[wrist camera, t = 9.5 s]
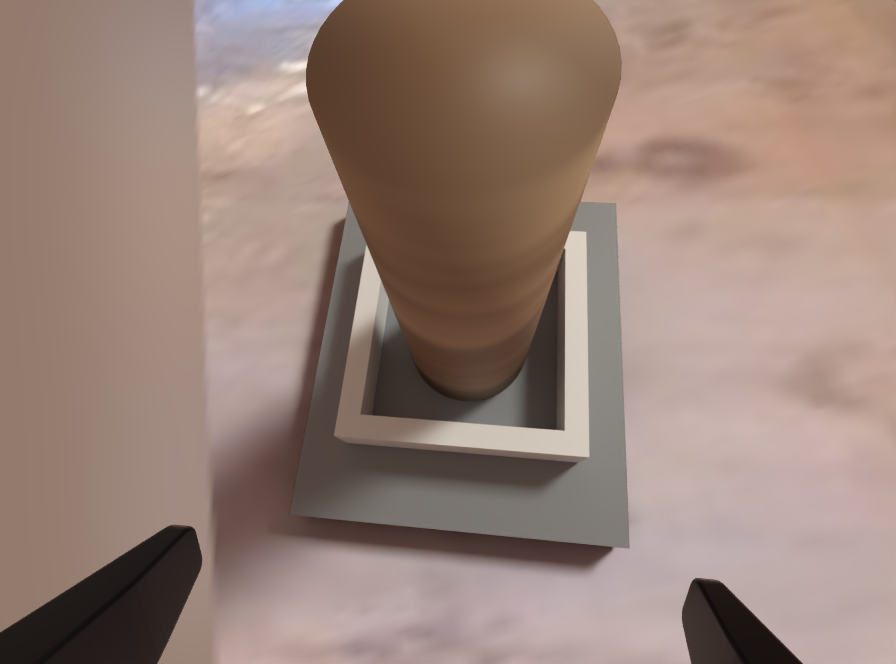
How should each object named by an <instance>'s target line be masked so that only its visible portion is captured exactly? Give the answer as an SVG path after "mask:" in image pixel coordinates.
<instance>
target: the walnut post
mask: <svg viewBox="0 0 896 664" xmlns="http://www.w3.org/2000/svg"><path fill="white" fill-rule="evenodd" d="M621 66H622V61H621V54H620V47H619V44H618V41H617V37H616V34H615V32H614V30H613V28H612V26H611V24H610V22H609V20H608V18H607V17H606V15H605V14H604V13H603V11H602V10H601V9H600V7H599V6H598V5H597V4H596V3H595V2H594V1H593V0H343V1H342V2H341V3H340V4H339V5H338V6H337V7H336V8H335V10H334V11H333V12H332V13H331V14H330V15H329V17H328V18H327V19H326V21H325V22H324V23H323V25H322V26H321V28H320V30H319V32H318V34H317V36H316V37H315V39H314V42H313V44H312V47H311V50H310V53H309V57H308V63H307V68H306V87H307V93H308V98H309V102H310V105H311V108H312V110H313V113H314V116H315V118H316V121H317V123H318V126H319V128H320V131H321V133H322V135H323V138H324V140H325V143H326V145H327V148H328V150H329V153H330V155H331V158H332V160H333V163H334V165H335V168H336V170H337V173H338V175H339V178H340V180H341V182H342V185H343V187H344V190H345V192H346V195H347V197H348V200H349V202H350V205H351V207H352V210H353V212H354V215H355V217H356V220H357V222H358V225H359V227H360V229H361V232H362V234H363V237H364V239H365V242H366V244H367V247H368V249H369V252H370V254H371V257H372V259H373V262H374V264H375V267H376V269H377V272H378V274H379V276H380V279H381V281H382V284H383V286H384V289H385V291H386V294H387V296H388V299H389V301H390V304H391V306H392V309H393V311H394V314H395V316H396V319H397V321H398V324H399V326H400V328H401V331H402V333H403V336H404V338H405V341H406V343H407V346H408V348H409V351H410V353H411V356H412V358H413V361H414V363H415V366H416V368H417V370H418V372H419V374H420V375H421V377H422V378H423V380H424V381H425V382H426V383H427V384H428V385H429V386H430V387H431V388H432V389H434V390H435V391H436V392H438V393H440V394H442V395H444V396H446V397H448V398H451V399H455V400H460V401H479V400H484V399H488V398H490V397H493V396H495V395H497V394H499V393H501V392H502V391H504V390H505V389H506V388H508V387H509V386H510V385H511V384H512V383H513V382H514V381H515V379H516V378H517V377H518V375H519V373H520V372H521V370H522V368H523V365H524V363H525V360H526V357H527V354H528V351H529V348H530V345H531V342H532V339H533V337H534V334H535V331H536V328H537V325H538V322H539V319H540V316H541V313H542V310H543V308H544V305H545V302H546V299H547V296H548V293H549V290H550V287H551V284H552V282H553V279H554V276H555V273H556V270H557V267H558V264H559V261H560V258H561V255H562V253H563V250H564V247H565V244H566V241H567V238H568V235H569V232H570V229H571V227H572V224H573V221H574V218H575V215H576V212H577V209H578V206H579V203H580V201H581V198H582V195H583V192H584V189H585V186H586V183H587V180H588V177H589V174H590V172H591V169H592V166H593V163H594V160H595V157H596V154H597V151H598V148H599V146H600V143H601V140H602V137H603V134H604V131H605V128H606V125H607V122H608V120H609V117H610V114H611V111H612V108H613V105H614V102H615V99H616V96H617V93H618V89H619V84H620V80H621Z"/></svg>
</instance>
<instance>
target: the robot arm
mask: <svg viewBox="0 0 896 664" xmlns="http://www.w3.org/2000/svg"><path fill="white" fill-rule="evenodd" d="M201 566H202V555H201V550H200V547H199V543H198V539H197V535H196V531H195V529H194V528H193V527H190V526H181V525H170V526H168V527H166V528H164V529H163V530H161V531H160V532H158V533H156V534H155V535H153V536H152V537H150V538H148V539H147V540H145V541H144V542H142V543H141V544H139V545H137V546H136V547H134V548H133V549H131V550H130V551H128V552H126V553H125V554H123V555H122V556H120V557H119V558H117V559H115V560H114V561H113V562H111V563H109V564H107V565H106V566H104V567H103V568H101V569H100V570H98V571H96V572H95V573H93V574H92V575H90V576H89V577H87V578H85V579H84V580H82V581H81V582H79V583H77V584H76V585H75V586H73V587H71V588H70V589H68V590H66V591H65V592H63V593H62V594H60V595H59V596H57V597H56V598H54V599H52V600H51V601H50V602H48V603H46V604H44V605H43V606H41V607H40V608H38V609H36V610H35V611H33V612H32V613H30V614H29V615H27V616H25V617H24V618H22V619H21V620H19V621H18V622H16V623H14V624H13V625H11V626H10V627H8V628H7V629H5V630H3V631H2V632H0V664H157V663H158V661H159V659H160V657H161V655H162V653H163V651H164V649H165V647H166V645H167V643H168V641H169V638H170V636H171V634H172V632H173V630H174V627H175V625H176V623H177V621H178V619H179V616H180V614H181V612H182V610H183V607H184V605H185V603H186V601H187V599H188V596H189V594H190V592H191V590H192V588H193V585H194V583H195V581H196V579H197V577H198V574H199V572H200V569H201ZM682 623H683V628H684V632H685V637H686V642H687V646H688V651H689V655H690V660H691V664H803V663H802V662H801V661H800V660H799V659H798V658H797V657H796V656H795V655H794V654H793V653H792V652H791V651H790V650H789V649H788V648H787V647H786V646H785V645H784V644H783V643H782V642H781V641H780V640H779V639H778V638H777V637H776V636H775V635H774V634H773V633H772V632H771V631H770V630H769V629H768V628H767V627H766V626H765V625H764V624H763V623H762V622H761V621H760V620H759V619H758V618H757V617H756V616H755V615H754V614H753V613H752V612H751V611H750V610H749V609H748V608H747V607H746V606H745V605H744V604H743V603H742V602H741V601H740V600H739V599H738V598H737V597H736V596H735V595H734V594H733V593H732V592H731V591H730V590H729V589H728V588H727V587H726V586H725V585H724V584H723V583H721V582H720V581H718V580H713V579H703V578H695V579H694V580H693V581H692V582H691V585H690V588H689V591H688V594H687V597H686V600H685V603H684V606H683V610H682Z"/></svg>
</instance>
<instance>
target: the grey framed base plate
mask: <svg viewBox="0 0 896 664" xmlns="http://www.w3.org/2000/svg"><path fill="white" fill-rule="evenodd" d="M289 515H296V516H306V517H316V518H326V519H336V520H347V521H357V522H367V523H377V524H387V525H397V526H407V527H417V528H428V529H438V530H448V531H458V532H468V533H478V534H488V535H498V536H508V537H519V538H529V539H539V540H549V541H559V542H569V543H579V544H589V545H600V546H610V547H620V548H630V546H629V520H628V495H627V470H626V444H625V419H624V394H623V368H622V343H621V318H620V292H619V267H618V242H617V216H616V203H595V202H580V203H579V206H578V209H577V212H576V215H575V218H574V221H573V224H572V227H571V229H570V232H569V235H568V238H567V241H566V244H565V247H564V250H563V253H562V255H561V258H560V261H559V264H558V267H557V270H556V273H555V276H554V279H553V282H552V284H551V287H550V290H549V293H548V296H547V299H546V302H545V305H544V308H543V310H542V313H541V316H540V319H539V322H538V325H537V328H536V331H535V334H534V337H533V339H532V342H531V345H530V348H529V351H528V354H527V357H526V360H525V363H524V365H523V368H522V370H521V372H520V373H519V375H518V377H517V378H516V379H515V381H514V382H513V383H512V384H511V385H510V386H509V387H508V388H506V389H505V390H504V391H502V392H501V393H499V394H497V395H495V396H493V397H490V398H488V399H484V400H479V401H460V400H455V399H451V398H448V397H446V396H444V395H442V394H440V393H438V392H436V391H435V390H434V389H432V388H431V387H430V386H429V385H428V384H427V383H426V382H425V381H424V380H423V378H422V377H421V375H420V374H419V372H418V370H417V368H416V366H415V363H414V361H413V358H412V356H411V353H410V351H409V348H408V346H407V343H406V341H405V338H404V336H403V333H402V331H401V328H400V326H399V324H398V321H397V319H396V316H395V314H394V311H393V309H392V306H391V304H390V301H389V299H388V296H387V294H386V291H385V289H384V286H383V284H382V281H381V279H380V276H379V274H378V272H377V269H376V267H375V264H374V262H373V259H372V257H371V254H370V252H369V249H368V247H367V244H366V242H365V239H364V237H363V234H362V232H361V229H360V227H359V225H358V222H357V220H356V217H355V215H354V212H353V210H352V207H351V205H350V202H349V205H348V210H347V215H346V220H345V225H344V231H343V236H342V241H341V246H340V251H339V257H338V262H337V267H336V272H335V278H334V283H333V288H332V293H331V298H330V304H329V309H328V314H327V319H326V324H325V330H324V335H323V340H322V345H321V351H320V356H319V361H318V366H317V371H316V377H315V382H314V387H313V392H312V397H311V403H310V408H309V413H308V418H307V423H306V429H305V434H304V439H303V444H302V450H301V455H300V460H299V465H298V470H297V476H296V481H295V486H294V491H293V496H292V502H291V507H290V512H289Z"/></svg>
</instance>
